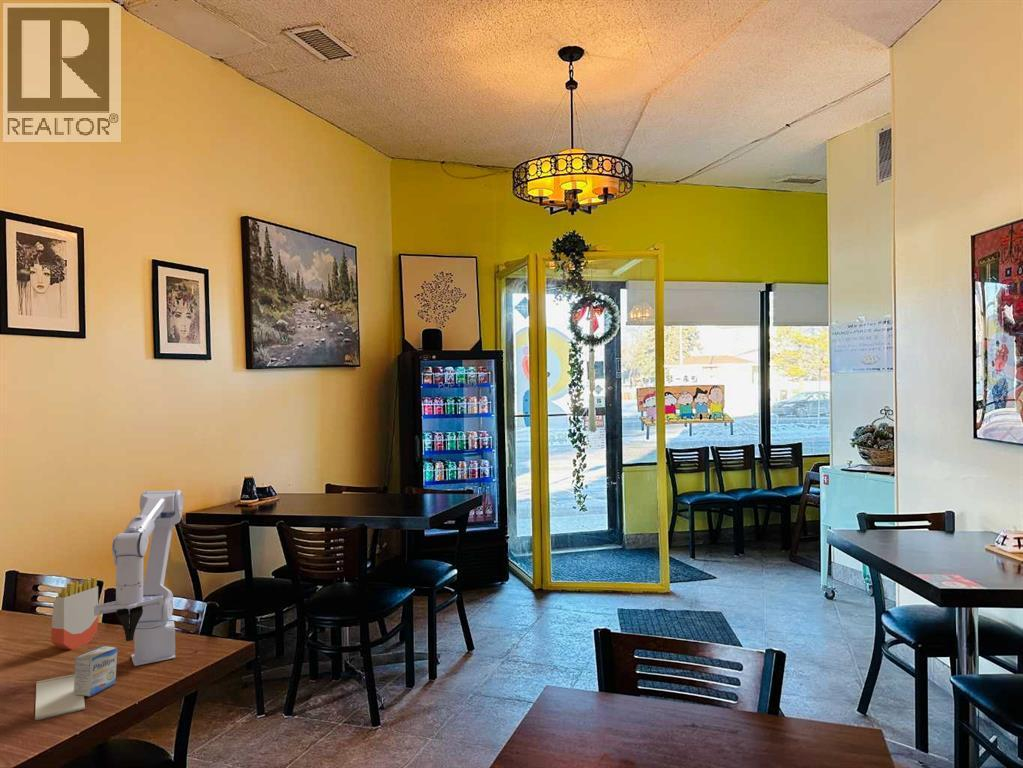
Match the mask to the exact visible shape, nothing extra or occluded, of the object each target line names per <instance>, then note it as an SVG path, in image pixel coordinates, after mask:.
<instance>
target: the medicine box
mask: <svg viewBox="0 0 1023 768" xmlns="http://www.w3.org/2000/svg"><path fill="white" fill-rule="evenodd" d="M117 659H118V648H117V647H114V646H107V645H106V646H100V647H97V648H95V649H93V650H90V651H89V652H86V653H83V654H81V655H78V656H76V657H75V664H74V674H75V677H74V694H75V695H81V696H84V697H92V696H94V695H96V694H97V693H100V692H102V691H103V690H105V689H108V688H109V687H112V686H114V685H115V684H116V682H117V681H116V680H117Z"/></svg>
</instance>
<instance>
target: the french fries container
mask: <svg viewBox="0 0 1023 768" xmlns="http://www.w3.org/2000/svg"><path fill="white" fill-rule="evenodd" d="M97 584H98V577H97V576H93V577H91V578H90V580H88V578H87V577H85V578H82V583H80V584H79V581H78V580H76V581H75V580H74V582H68V583H66V587H65V588H63V587H62V588H61V591H59V592H57V595H56V596H55V599H54V601H53V606H52V607H53V608H52V616H51V617H52V619H51V631H50V632H51V634H50V635H51V639H50V640H51V641H50V642H51V643H50V644H53V645H54V646H56V647H57V648H60V649H65V650H72V651H73V650H76V649H78V648H79V647H82V646H85V645H87V644H89V643H90V642H91V641H92V639H93V638H94V636H95V635H96V634H97V632H98V630H99V628H98V627H99V615H97V616H94V605H99V586H98V585H97Z"/></svg>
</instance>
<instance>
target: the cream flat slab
mask: <svg viewBox="0 0 1023 768" xmlns="http://www.w3.org/2000/svg"><path fill="white" fill-rule="evenodd" d="M74 677H75V673H73V674H67V675H63V676H58V677H53V678H47V679H43V680H38V681H36V686H35V713H34V714H35V715H34V721H40V720H44V719H48V718H53V717H57V716H62V715H67V714H71V713H75V712H79V711H84V710H86V705H85V704H86V703H85V696H81V695H75V694H74Z"/></svg>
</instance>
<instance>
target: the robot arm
mask: <svg viewBox="0 0 1023 768" xmlns="http://www.w3.org/2000/svg"><path fill="white" fill-rule="evenodd" d="M184 501H185V500H184V494H183V492H182V490H181V489H176V490H175V489H174V490H144V491H143V492H141V495H140V497H139V510H140V513H139V514H137V515H135V516H134V517H133V518H131V520H130V522H129V523H128V524H127V526H126V527H125V529H124V530H123V532H120V533H119V534H118V535H115V536H114V538H113V539H112V545H111V546H112V547H111V551H112V553H111V554H112V556H113V564H114V566H115V601H109V602H106V603H101V604H98V605H94V616H97V615H98V616H100V615H103V614H111V613H116V615H117V617H118V619H119V621H120V624H121V626H122V628H123V630H124V636H125V638H124V639H125V641H126V642H131V641H134V644H133V645H134V648H133V649H134V650H133V651H134V653H133V654H131V655H130V657H131V660H132V664H133V665H134V667H136V666H140V665H146V664H152V663H156V662H162V661H166V660H172V659H175V658H176V628H175V627H176V626H175V621H174V620H172V617H173V612H174V595H173V592H172V590H171V589H169V588H168V587H166V585H165V579H166V572H167V566H168V560H169V554H170V547H171V541H172V534H173V531H174V528H175V525H177V524H178V523H180V522H181V519H182V517H183V509H184ZM150 536H151V539H150V541H149V538H150ZM149 542H150V545H149ZM148 545H149V546H150V547H149V552H148V559H147V564H146V569H145V570H146V571H145V575H144V557H145V556H146V553H147V551H148ZM164 585H165V586H164Z"/></svg>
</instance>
